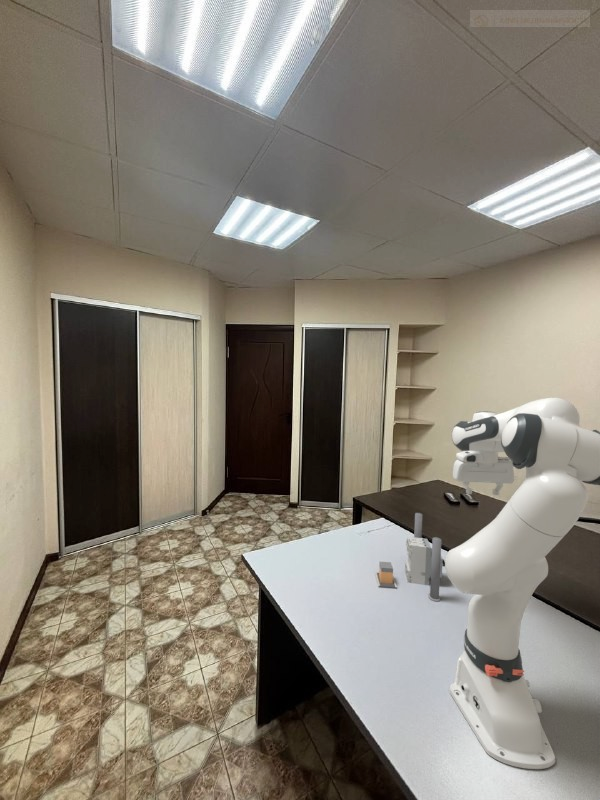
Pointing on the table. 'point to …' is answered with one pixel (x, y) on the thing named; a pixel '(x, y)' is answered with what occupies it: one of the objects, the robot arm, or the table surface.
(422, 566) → the circuit breaker
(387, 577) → the orange and grey block
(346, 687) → the table surface
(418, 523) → the cord posts
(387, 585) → the mat
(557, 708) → the table surface
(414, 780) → the table surface
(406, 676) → the table surface
